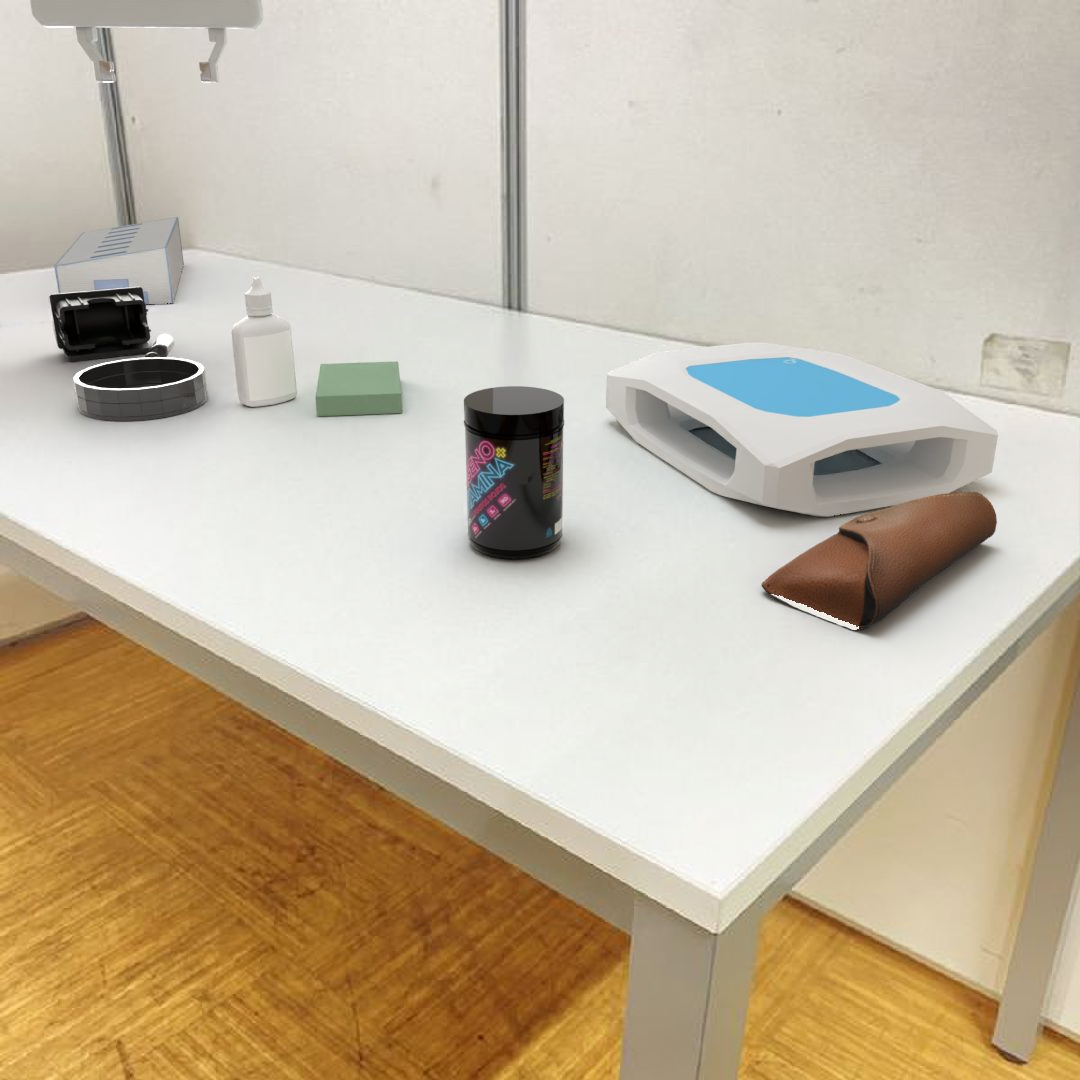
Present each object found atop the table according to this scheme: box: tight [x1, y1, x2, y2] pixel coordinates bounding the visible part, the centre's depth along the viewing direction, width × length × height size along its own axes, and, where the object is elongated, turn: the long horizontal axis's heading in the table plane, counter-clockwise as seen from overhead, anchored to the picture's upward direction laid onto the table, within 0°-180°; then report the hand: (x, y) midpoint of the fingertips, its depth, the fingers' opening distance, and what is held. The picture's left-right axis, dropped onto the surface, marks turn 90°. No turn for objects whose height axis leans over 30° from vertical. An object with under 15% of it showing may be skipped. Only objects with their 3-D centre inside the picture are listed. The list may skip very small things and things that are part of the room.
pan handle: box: [143, 333, 175, 358], centre depth 120 cm, size 2×10×2 cm, turn 8°
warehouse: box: [53, 216, 185, 305], centre depth 164 cm, size 30×14×8 cm, turn 14°
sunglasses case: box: [761, 491, 998, 630], centre depth 74 cm, size 18×7×7 cm
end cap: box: [48, 287, 152, 362], centre depth 128 cm, size 10×7×7 cm
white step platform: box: [605, 341, 999, 517], centre depth 96 cm, size 21×28×6 cm
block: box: [315, 361, 403, 417], centre depth 112 cm, size 8×12×2 cm, turn 8°
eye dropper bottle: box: [231, 276, 298, 408], centre depth 109 cm, size 4×6×12 cm
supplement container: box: [463, 385, 565, 560], centre depth 77 cm, size 7×7×10 cm
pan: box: [72, 357, 208, 422], centre depth 110 cm, size 12×12×3 cm
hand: (158, 82), depth 106 cm, fingers open, 8 cm apart
